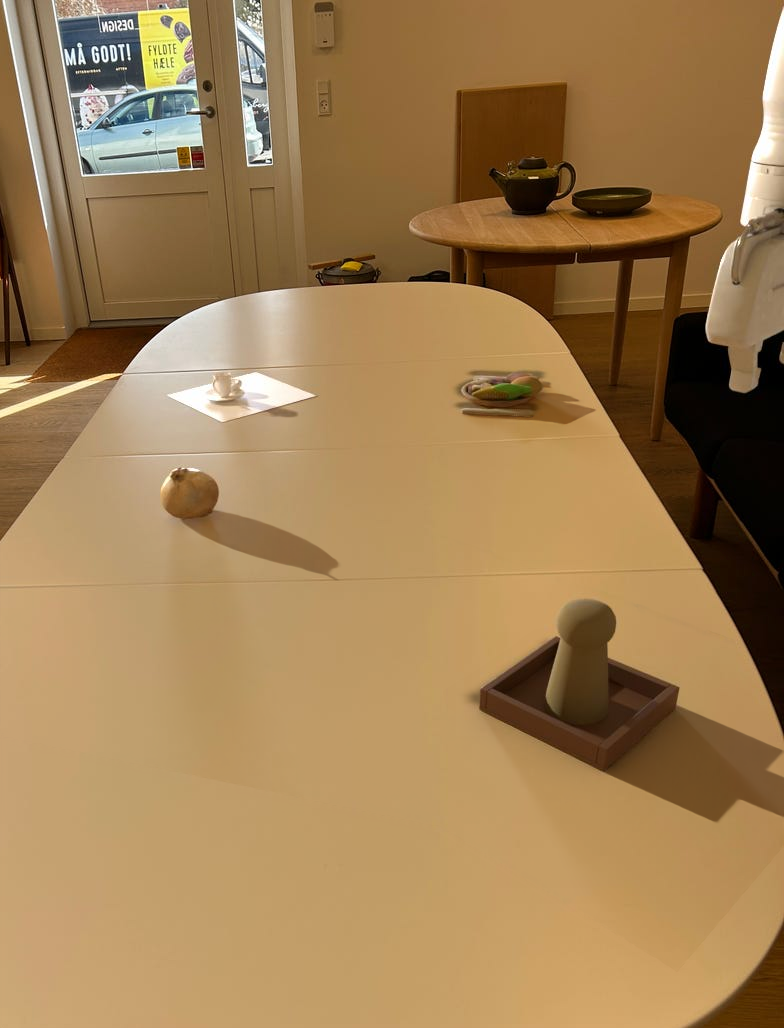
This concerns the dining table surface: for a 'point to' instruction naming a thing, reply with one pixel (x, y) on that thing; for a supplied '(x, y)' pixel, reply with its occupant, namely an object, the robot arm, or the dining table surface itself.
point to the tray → (598, 744)
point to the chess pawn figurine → (581, 663)
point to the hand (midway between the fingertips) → (767, 375)
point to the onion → (189, 493)
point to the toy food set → (501, 393)
